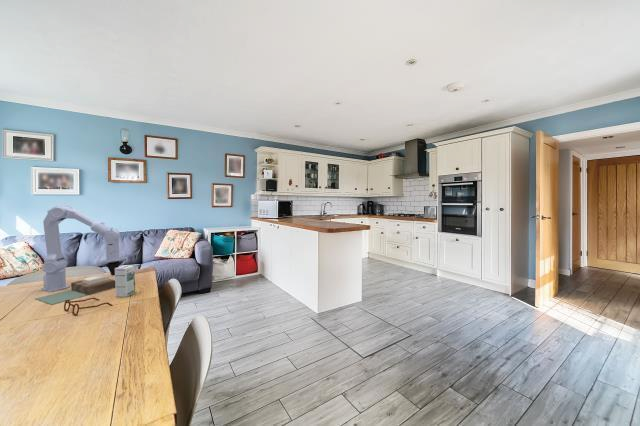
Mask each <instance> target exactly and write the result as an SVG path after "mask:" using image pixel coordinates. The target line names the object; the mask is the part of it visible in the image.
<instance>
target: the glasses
mask: <svg viewBox="0 0 640 426" xmlns="http://www.w3.org/2000/svg"><path fill="white" fill-rule="evenodd" d="M91 300H95V301H100V299H99V298H96V297H89V298H86V299H81V300H79V299H78V300H66V301H65V302H64V304H63V310H64V312H68V311H69V310H70V307H72V315H73V316H78V314H79V311H80V310H84V309H92V308H98V307H101V306H103V305H109V306H110V307H111V306H114V304H112V303H109V302H106V301H105V302H102V303H99V304H97V305H89V306H82V307H80V304H79V303H80V302H87V301H91ZM73 303H74V304H73ZM67 304H68V307H67V308H66V306H67ZM75 307H77V310H76V313H75V309H76V308H75Z"/></svg>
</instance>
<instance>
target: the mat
mask: <svg viewBox="0 0 640 426" xmlns="http://www.w3.org/2000/svg"><path fill="white" fill-rule="evenodd" d="M87 296H88V295H86V294H83V293H79V292H76V291H72V290H71V289H69V290H64V291H60V292H57V293H52V294H48V295H45V296H39V297H36V298H34V300H37V301H40V302H42V303H45V304H47V305H51V306H53V305H58V304H60V303H65V301H66V300H70V301H73V300H75V299H80V298H82V297H87Z"/></svg>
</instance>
